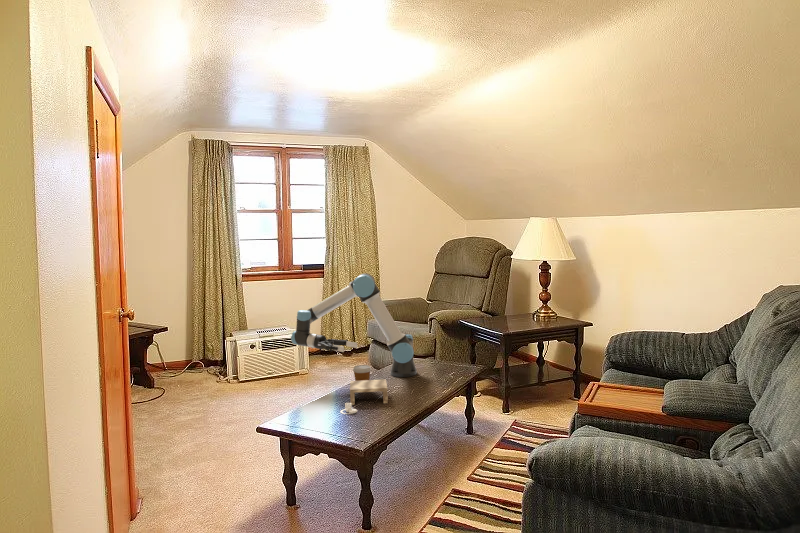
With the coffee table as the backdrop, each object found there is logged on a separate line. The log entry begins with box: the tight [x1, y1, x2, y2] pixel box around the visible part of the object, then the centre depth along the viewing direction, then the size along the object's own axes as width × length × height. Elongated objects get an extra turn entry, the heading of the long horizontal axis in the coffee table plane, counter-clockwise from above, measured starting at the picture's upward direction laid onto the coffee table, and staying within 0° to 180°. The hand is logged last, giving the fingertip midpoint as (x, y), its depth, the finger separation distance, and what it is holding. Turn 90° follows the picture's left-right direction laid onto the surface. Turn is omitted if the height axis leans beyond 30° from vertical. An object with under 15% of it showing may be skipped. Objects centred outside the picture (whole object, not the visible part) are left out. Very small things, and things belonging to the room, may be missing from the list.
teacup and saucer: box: [339, 402, 358, 415], centre depth 261 cm, size 9×8×4 cm
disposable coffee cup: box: [352, 364, 372, 381], centre depth 297 cm, size 10×10×12 cm
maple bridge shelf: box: [349, 378, 389, 406], centre depth 280 cm, size 18×16×8 cm
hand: (350, 347), depth 299 cm, fingers open, 13 cm apart
